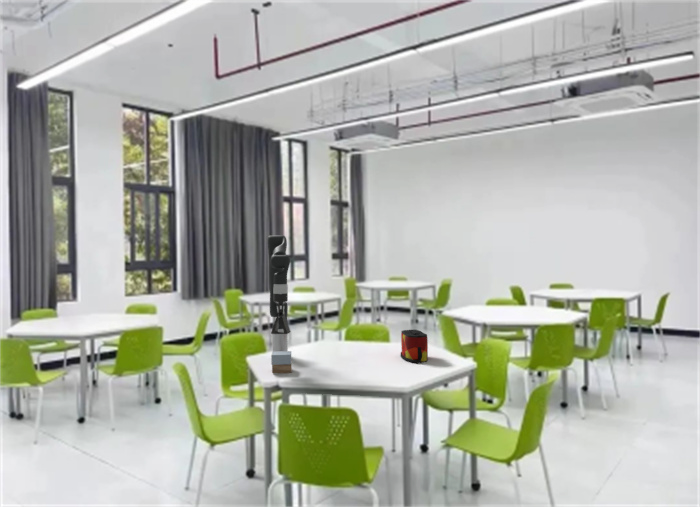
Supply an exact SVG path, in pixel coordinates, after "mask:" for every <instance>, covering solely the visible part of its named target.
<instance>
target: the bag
mask: <svg viewBox="0 0 700 507" xmlns="http://www.w3.org/2000/svg"><path fill="white" fill-rule="evenodd" d="M400 338H401V342H400V343H401V352H400V358H401V359H402V360H404V362H407V363H411V364H414V365H415V364H416V365H417V364H420V363H427V362H428V357H429V356H428V353H429V351H428V349H429V346H428V341H429V340H428V333H425V332H424V331H423V332H422V331H421V330H419V329H404V330H401V335H400Z"/></svg>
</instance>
